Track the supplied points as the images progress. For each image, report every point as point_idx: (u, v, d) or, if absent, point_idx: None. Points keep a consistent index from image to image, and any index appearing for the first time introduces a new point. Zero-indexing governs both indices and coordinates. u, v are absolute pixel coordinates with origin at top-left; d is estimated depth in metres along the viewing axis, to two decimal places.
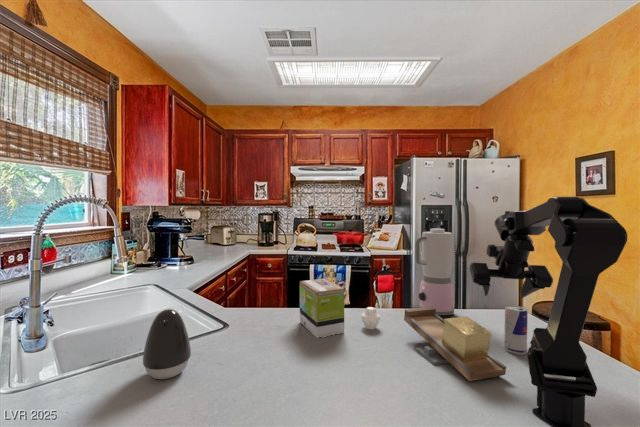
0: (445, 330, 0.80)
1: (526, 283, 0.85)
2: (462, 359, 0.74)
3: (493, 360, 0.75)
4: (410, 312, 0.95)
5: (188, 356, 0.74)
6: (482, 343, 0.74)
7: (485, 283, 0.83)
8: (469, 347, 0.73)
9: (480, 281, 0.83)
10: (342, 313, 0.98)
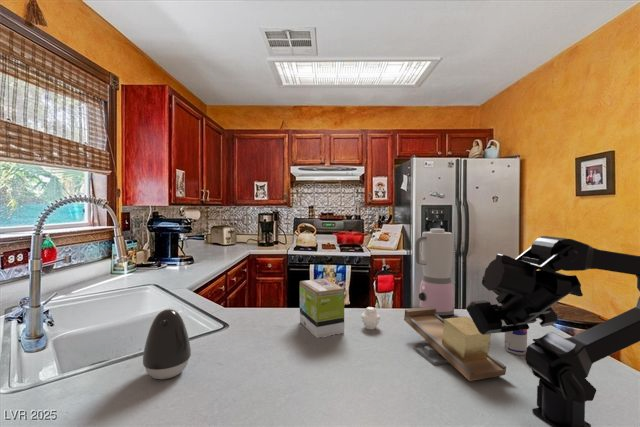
0: (445, 330, 0.80)
1: None
2: (462, 359, 0.74)
3: (493, 360, 0.75)
4: (410, 312, 0.95)
5: (188, 356, 0.74)
6: (482, 343, 0.74)
7: (493, 332, 0.62)
8: (469, 347, 0.73)
9: (489, 332, 0.61)
10: (342, 313, 0.98)
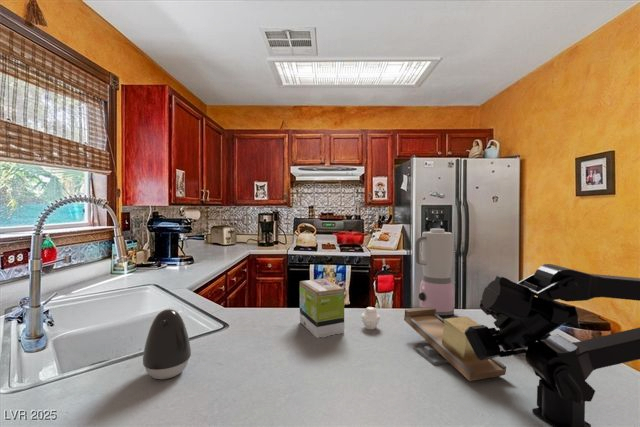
0: (445, 330, 0.80)
1: None
2: (462, 359, 0.74)
3: (493, 360, 0.75)
4: (410, 312, 0.95)
5: (188, 356, 0.74)
6: None
7: (491, 358, 0.62)
8: (469, 347, 0.73)
9: (487, 358, 0.61)
10: (342, 313, 0.98)
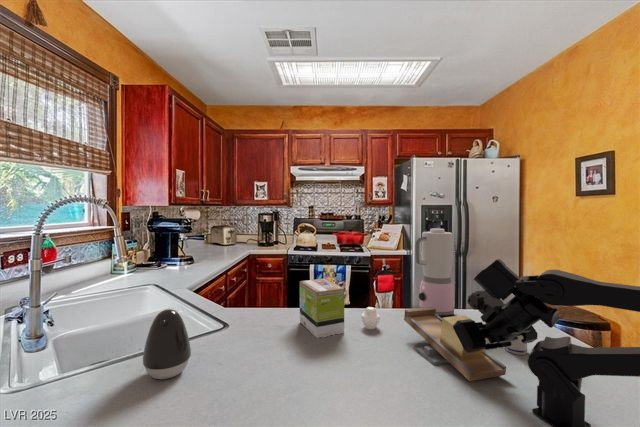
0: (443, 329, 0.80)
1: None
2: (460, 357, 0.75)
3: (493, 360, 0.75)
4: (410, 312, 0.95)
5: (188, 356, 0.74)
6: None
7: (477, 350, 0.65)
8: None
9: (474, 350, 0.65)
10: (342, 313, 0.98)
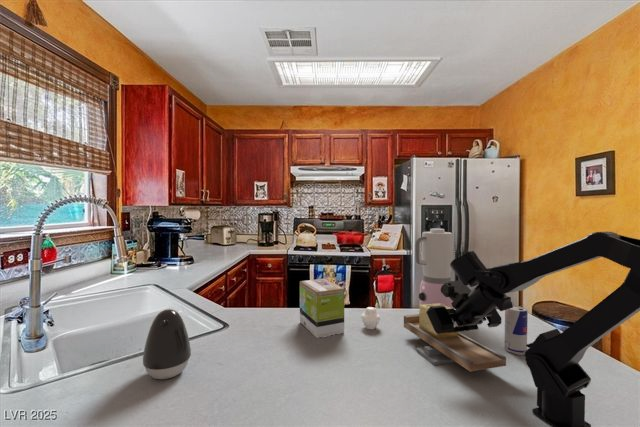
0: (421, 315, 0.90)
1: None
2: (436, 336, 0.83)
3: (493, 352, 0.75)
4: (409, 318, 0.95)
5: (188, 356, 0.74)
6: None
7: (446, 332, 0.75)
8: None
9: (443, 331, 0.74)
10: (342, 313, 0.98)
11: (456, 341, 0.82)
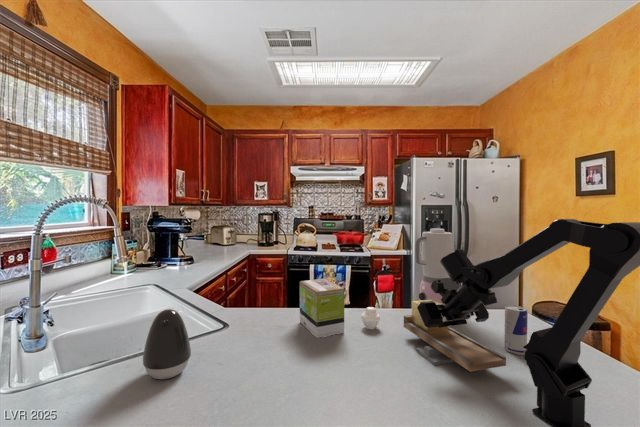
0: (413, 311, 0.94)
1: None
2: (426, 331, 0.87)
3: (493, 352, 0.75)
4: (409, 318, 0.95)
5: (188, 356, 0.74)
6: None
7: (436, 326, 0.79)
8: None
9: (432, 325, 0.78)
10: (342, 313, 0.98)
11: (456, 341, 0.82)
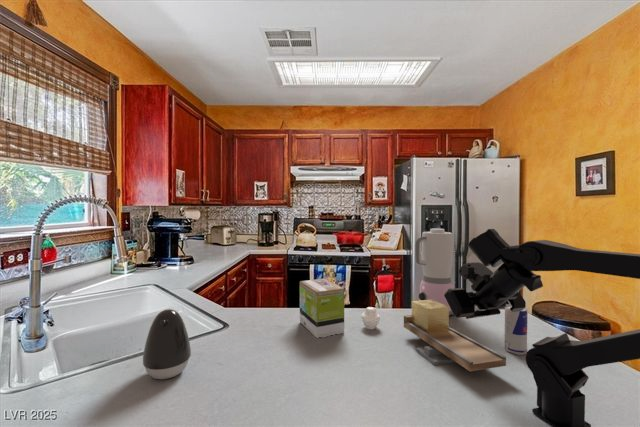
0: (413, 311, 0.94)
1: None
2: (426, 331, 0.87)
3: (493, 352, 0.75)
4: (409, 318, 0.95)
5: (188, 356, 0.74)
6: (443, 316, 0.88)
7: (466, 316, 0.69)
8: (431, 319, 0.87)
9: (463, 315, 0.68)
10: (342, 313, 0.98)
11: (456, 341, 0.82)
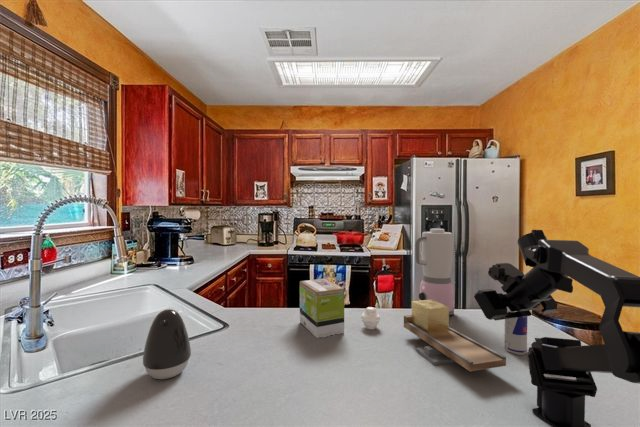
0: (413, 311, 0.94)
1: None
2: (426, 331, 0.87)
3: (493, 352, 0.75)
4: (409, 318, 0.95)
5: (188, 356, 0.74)
6: (443, 316, 0.88)
7: (498, 318, 0.68)
8: (431, 319, 0.87)
9: (495, 317, 0.67)
10: (342, 313, 0.98)
11: (456, 341, 0.82)
